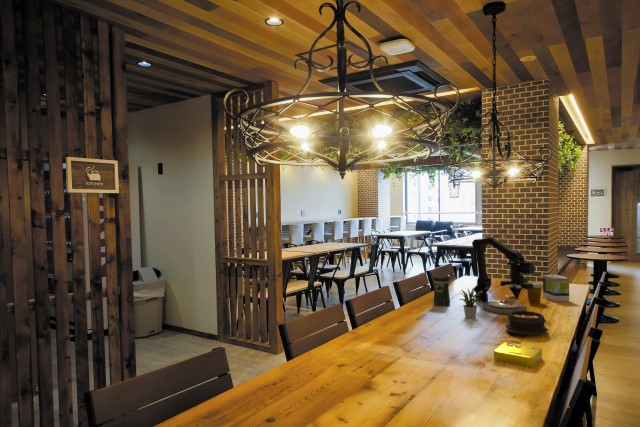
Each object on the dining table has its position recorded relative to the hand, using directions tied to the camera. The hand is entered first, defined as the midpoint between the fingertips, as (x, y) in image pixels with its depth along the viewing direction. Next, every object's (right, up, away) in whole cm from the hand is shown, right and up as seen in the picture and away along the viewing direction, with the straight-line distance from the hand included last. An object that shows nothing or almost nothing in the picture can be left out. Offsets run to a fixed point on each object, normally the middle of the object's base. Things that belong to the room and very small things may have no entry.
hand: (516, 299), depth 260 cm
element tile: (-38, -8, -86) cm, 94 cm away
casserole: (-17, -7, -48) cm, 51 cm away
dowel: (-4, -3, +5) cm, 7 cm away
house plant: (-34, -6, -21) cm, 41 cm away
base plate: (-9, -5, -4) cm, 11 cm away
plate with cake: (-8, -3, -3) cm, 9 cm away
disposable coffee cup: (+17, -5, +14) cm, 23 cm away
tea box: (+35, -5, +23) cm, 42 cm away
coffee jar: (-41, -6, +12) cm, 43 cm away
